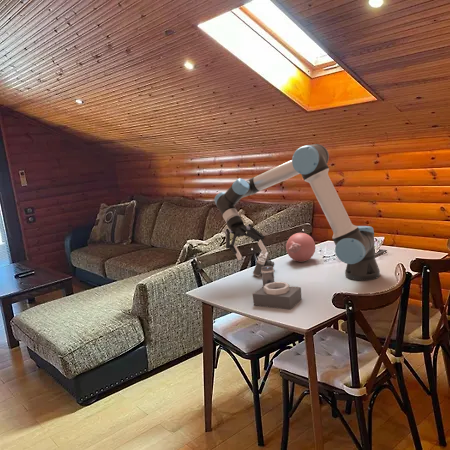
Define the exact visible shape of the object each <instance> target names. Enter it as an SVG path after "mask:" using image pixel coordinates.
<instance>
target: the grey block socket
mask: <svg viewBox="0 0 450 450" xmlns="http://www.w3.org/2000/svg"><path fill="white" fill-rule="evenodd" d="M302 298H303V297H302V287H300V286H291V285H289V284H288V283H287V282H282V281H274V282H273V283H268V284H265V285H264V286H263V285H262V286H261V287H260V288H259V289H257V290H256V291H255V292H253V293H252V300H253V306H256V307H264V308H274V309H282V310H291V309H293V308H294V307H295V306H296V305H297V304H298V303H299V302H300V301H301V300H302Z"/></svg>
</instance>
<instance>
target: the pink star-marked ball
mask: <svg viewBox="0 0 450 450" xmlns="http://www.w3.org/2000/svg"><path fill="white" fill-rule="evenodd" d="M285 249H286V253H287V255H288V257H290V258H291V259H292V260H293V261H295V262H299V263H300V262H301V263H302V262H307V261H308V260H311V258H312V257H313V256H314V254H315V253H316V243H315V241H314V238H313V237H312V236H311V235H309V234H307V233H305V232H297V233H294V234H291V236H290V237H288V239H287V242H286V244H285Z"/></svg>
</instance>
